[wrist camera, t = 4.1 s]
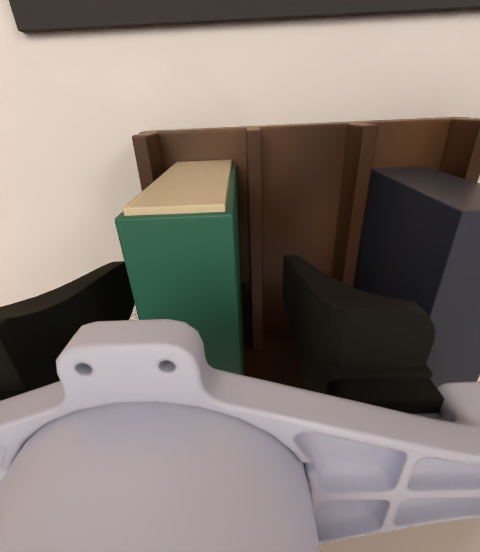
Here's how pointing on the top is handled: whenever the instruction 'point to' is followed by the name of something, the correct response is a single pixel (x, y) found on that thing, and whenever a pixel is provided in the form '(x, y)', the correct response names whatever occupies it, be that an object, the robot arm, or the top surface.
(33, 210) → the top surface
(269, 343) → the book rack
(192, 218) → the green book
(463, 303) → the navy book
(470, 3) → the felt mat
